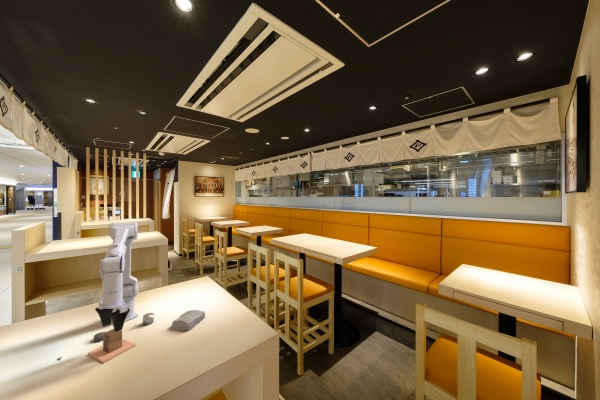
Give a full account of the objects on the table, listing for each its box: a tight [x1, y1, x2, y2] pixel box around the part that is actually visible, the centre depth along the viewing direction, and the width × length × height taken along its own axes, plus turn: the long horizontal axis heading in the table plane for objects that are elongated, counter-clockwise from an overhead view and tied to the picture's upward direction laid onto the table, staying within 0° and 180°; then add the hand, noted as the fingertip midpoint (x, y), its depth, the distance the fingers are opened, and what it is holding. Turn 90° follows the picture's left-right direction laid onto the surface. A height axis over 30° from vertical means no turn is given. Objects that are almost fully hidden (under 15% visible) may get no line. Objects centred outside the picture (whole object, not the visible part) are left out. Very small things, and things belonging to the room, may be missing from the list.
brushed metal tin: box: [142, 312, 155, 326], centre depth 101 cm, size 4×4×4 cm
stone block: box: [171, 309, 206, 331], centre depth 102 cm, size 12×5×10 cm
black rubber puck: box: [93, 331, 106, 343], centre depth 90 cm, size 4×4×2 cm
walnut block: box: [102, 328, 123, 353], centre depth 83 cm, size 4×4×6 cm
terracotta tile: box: [87, 338, 137, 364], centre depth 83 cm, size 10×10×1 cm
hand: (112, 327), depth 83 cm, fingers open, 7 cm apart
